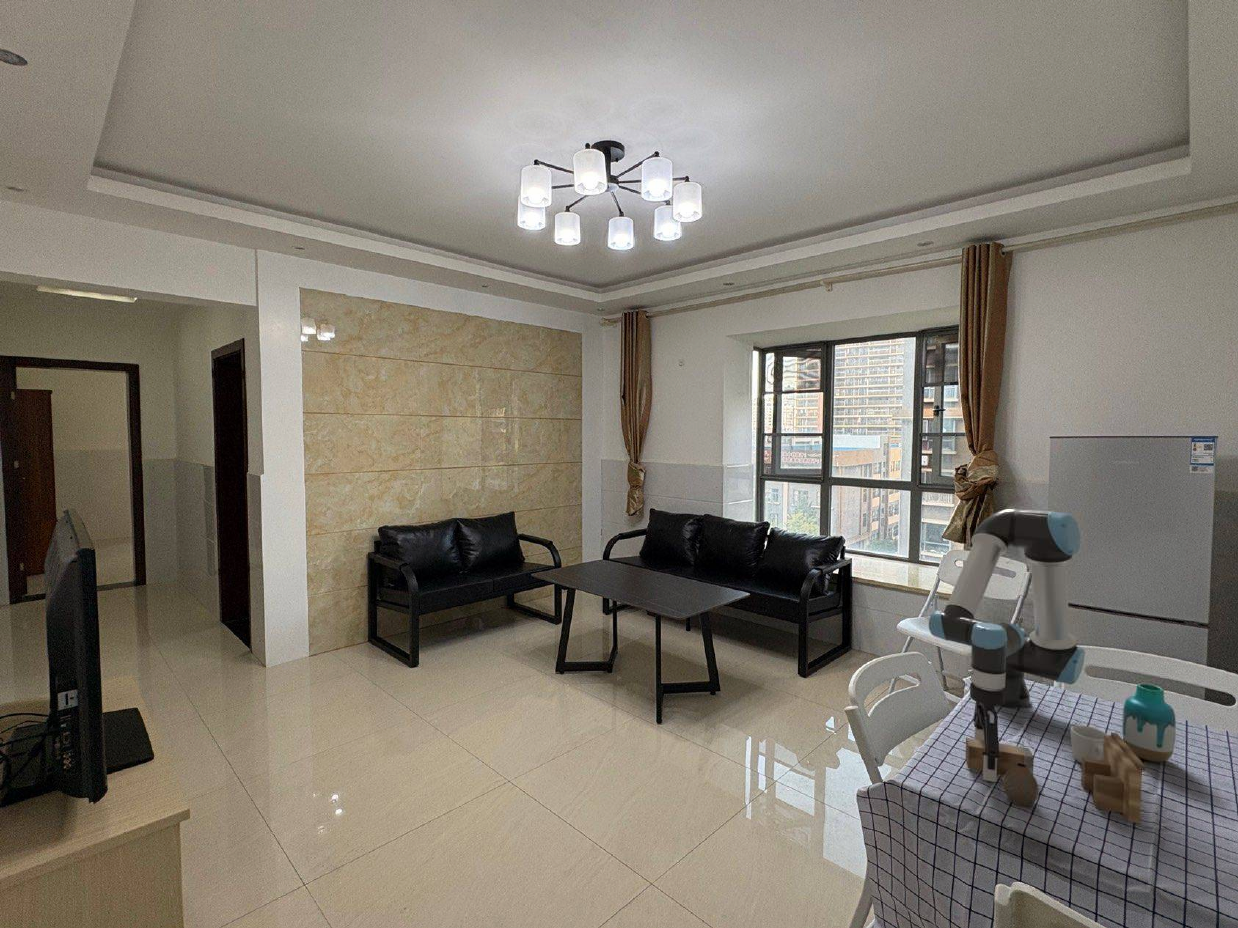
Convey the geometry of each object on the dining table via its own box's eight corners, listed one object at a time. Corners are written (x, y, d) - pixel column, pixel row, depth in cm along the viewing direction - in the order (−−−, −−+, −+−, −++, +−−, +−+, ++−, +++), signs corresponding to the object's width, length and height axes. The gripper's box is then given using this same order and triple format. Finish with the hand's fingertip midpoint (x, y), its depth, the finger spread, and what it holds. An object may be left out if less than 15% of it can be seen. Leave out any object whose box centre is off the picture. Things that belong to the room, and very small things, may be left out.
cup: (1121, 778, 150) (1123, 746, 150) (1085, 774, 152) (1086, 743, 151) (1096, 755, 161) (1098, 726, 160) (1063, 752, 162) (1064, 723, 162)
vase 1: (1011, 808, 138) (1012, 771, 137) (996, 791, 144) (998, 755, 144) (1044, 811, 137) (1045, 774, 136) (1028, 793, 143) (1029, 757, 143)
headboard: (1077, 778, 150) (1079, 727, 149) (1114, 785, 147) (1117, 733, 147) (1100, 815, 135) (1103, 759, 135) (1143, 824, 132) (1145, 766, 132)
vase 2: (1169, 754, 161) (1172, 684, 161) (1178, 773, 153) (1181, 699, 152) (1118, 743, 167) (1121, 675, 166) (1123, 760, 158) (1127, 689, 158)
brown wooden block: (968, 768, 154) (968, 745, 154) (965, 759, 159) (966, 737, 158) (1032, 780, 149) (1033, 756, 149) (1028, 770, 153) (1028, 747, 153)
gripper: (963, 665, 167) (960, 740, 168) (979, 702, 144) (976, 789, 145) (994, 669, 164) (991, 746, 165) (1016, 708, 141) (1012, 796, 142)
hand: (984, 766), depth 155 cm, fingers open, 13 cm apart
